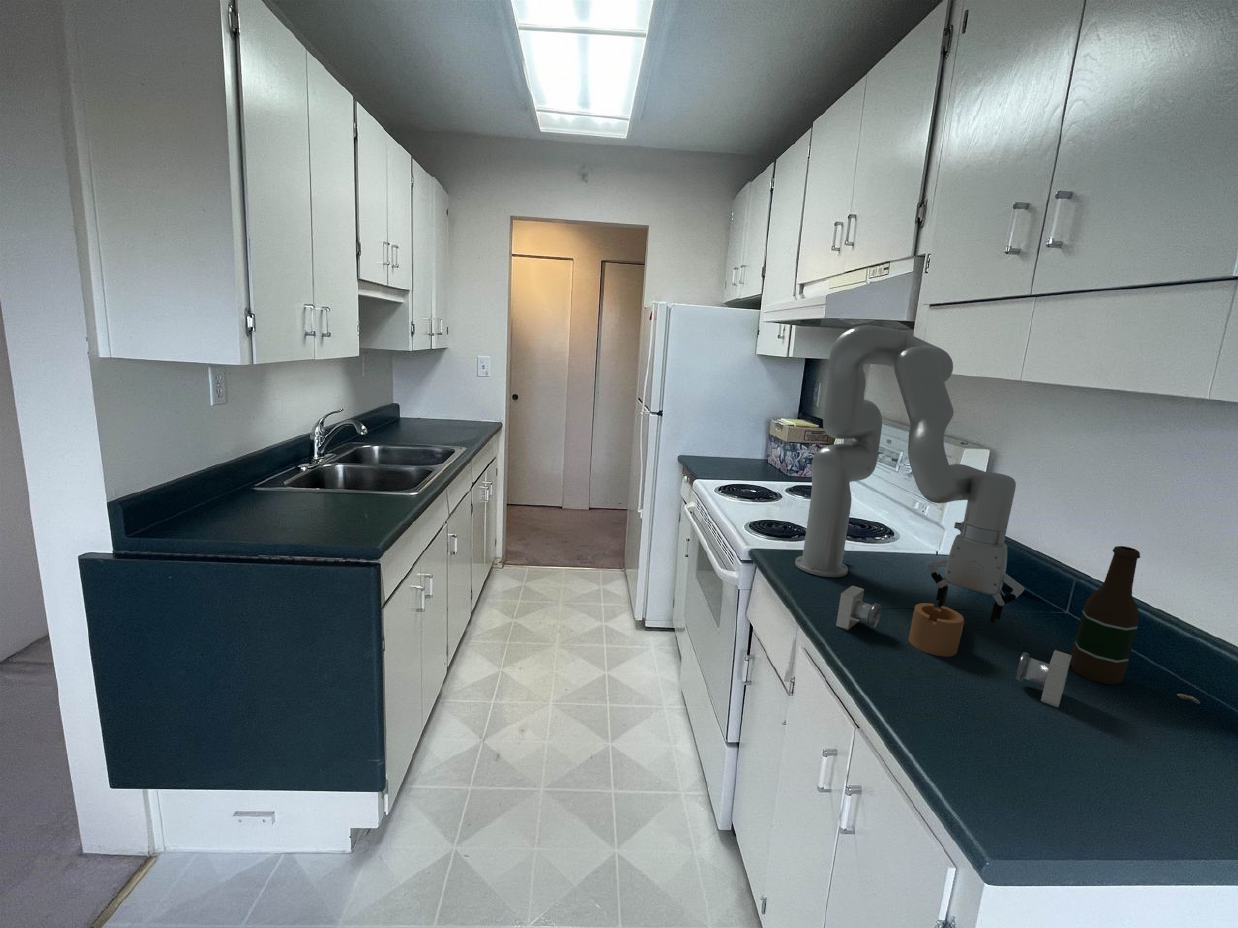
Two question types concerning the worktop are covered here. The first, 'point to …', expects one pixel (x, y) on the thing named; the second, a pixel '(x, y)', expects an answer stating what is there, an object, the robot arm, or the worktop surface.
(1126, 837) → the worktop surface
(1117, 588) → the beer bottle
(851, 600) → the grey metal fittings
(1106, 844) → the worktop surface
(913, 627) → the bracket
